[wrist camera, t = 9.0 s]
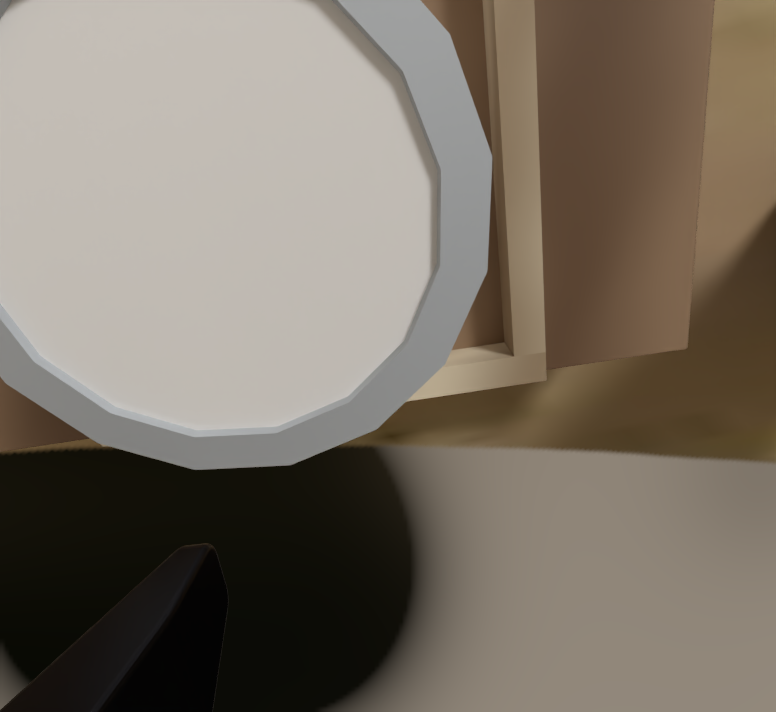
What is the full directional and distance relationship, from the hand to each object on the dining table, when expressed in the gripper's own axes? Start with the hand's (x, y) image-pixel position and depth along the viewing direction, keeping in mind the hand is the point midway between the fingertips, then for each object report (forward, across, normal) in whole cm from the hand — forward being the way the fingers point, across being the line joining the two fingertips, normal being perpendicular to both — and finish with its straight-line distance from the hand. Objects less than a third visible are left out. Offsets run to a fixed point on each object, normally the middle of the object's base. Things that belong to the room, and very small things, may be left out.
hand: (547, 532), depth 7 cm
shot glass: (+8, +4, -4) cm, 10 cm away
